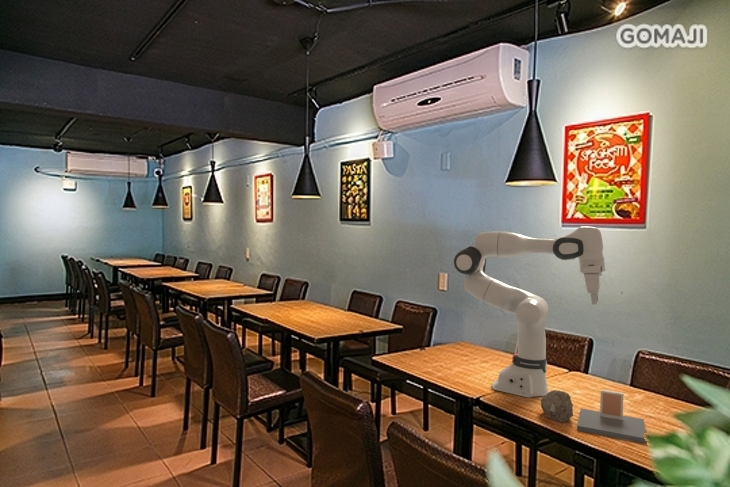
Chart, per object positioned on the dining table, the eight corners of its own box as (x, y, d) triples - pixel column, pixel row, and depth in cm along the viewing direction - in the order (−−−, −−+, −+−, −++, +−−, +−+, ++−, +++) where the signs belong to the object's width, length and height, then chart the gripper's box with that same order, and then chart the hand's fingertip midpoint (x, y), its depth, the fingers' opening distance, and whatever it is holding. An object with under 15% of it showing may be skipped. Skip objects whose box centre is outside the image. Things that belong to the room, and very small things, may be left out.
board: (576, 430, 160) (577, 425, 160) (580, 412, 176) (580, 408, 176) (646, 443, 151) (646, 438, 150) (643, 423, 166) (643, 419, 166)
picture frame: (600, 416, 168) (600, 390, 168) (600, 414, 170) (600, 389, 170) (622, 420, 165) (623, 394, 165) (622, 418, 167) (623, 392, 166)
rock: (528, 396, 174) (542, 385, 178) (539, 423, 174) (552, 411, 178) (560, 400, 162) (573, 388, 166) (571, 428, 162) (585, 416, 166)
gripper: (584, 266, 198) (587, 299, 198) (581, 269, 180) (584, 306, 180) (601, 265, 195) (604, 299, 195) (600, 268, 177) (603, 305, 177)
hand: (595, 302), depth 187 cm, fingers open, 8 cm apart
